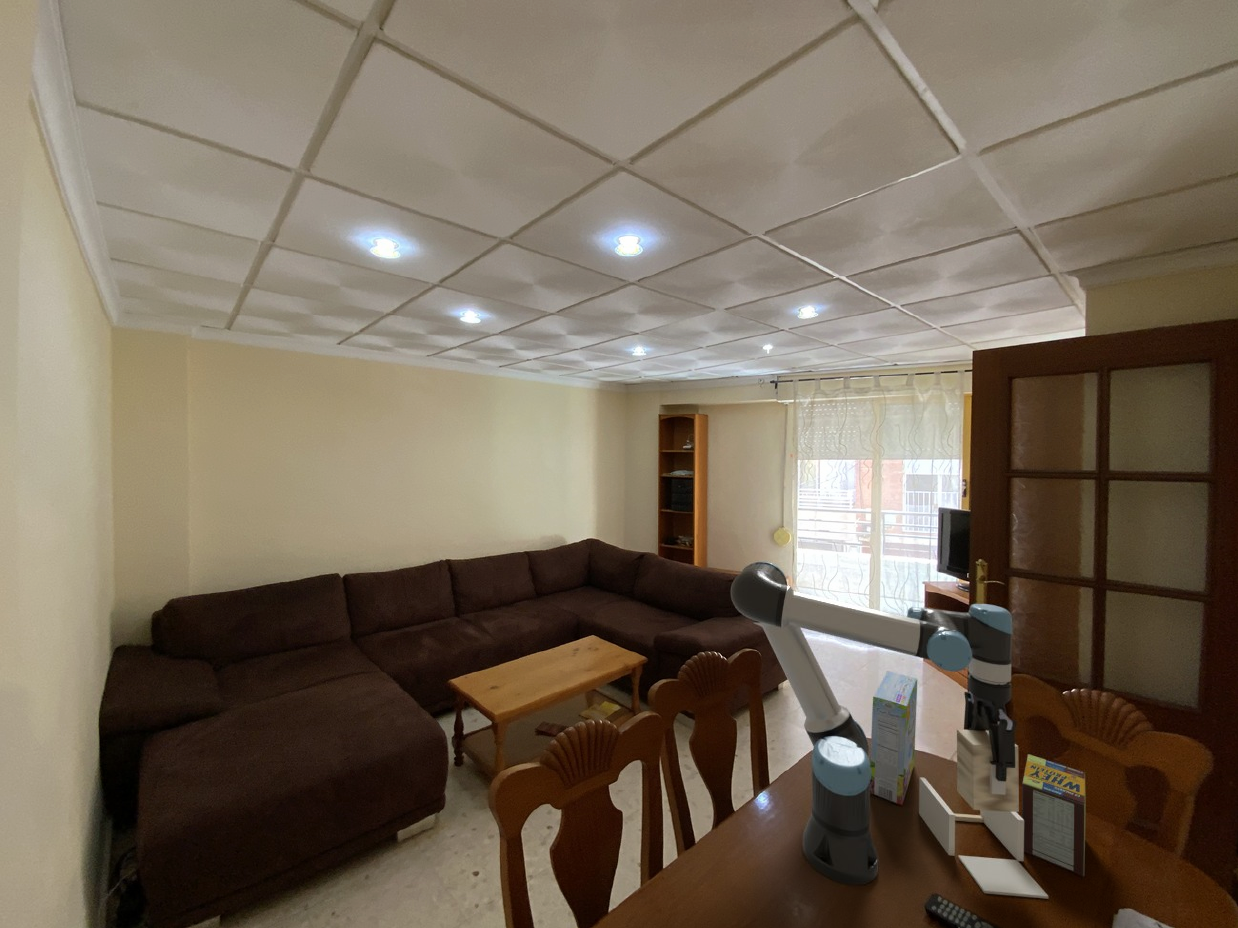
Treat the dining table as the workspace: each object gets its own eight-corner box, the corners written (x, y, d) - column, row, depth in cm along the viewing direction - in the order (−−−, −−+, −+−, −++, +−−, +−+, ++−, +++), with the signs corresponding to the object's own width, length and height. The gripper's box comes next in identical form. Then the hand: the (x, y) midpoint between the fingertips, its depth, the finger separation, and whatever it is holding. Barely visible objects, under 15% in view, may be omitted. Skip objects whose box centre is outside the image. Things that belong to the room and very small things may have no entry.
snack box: (906, 808, 125) (907, 706, 124) (867, 794, 130) (869, 696, 130) (917, 766, 142) (918, 676, 142) (883, 755, 147) (884, 668, 147)
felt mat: (984, 892, 100) (984, 890, 100) (958, 857, 109) (958, 855, 109) (1048, 898, 99) (1048, 895, 99) (1016, 862, 108) (1016, 859, 108)
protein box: (1084, 837, 115) (1085, 771, 115) (1084, 878, 104) (1085, 804, 104) (1026, 815, 123) (1027, 752, 123) (1020, 850, 111) (1021, 781, 111)
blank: (973, 809, 106) (973, 744, 106) (957, 790, 112) (956, 729, 112) (1018, 811, 106) (1018, 746, 105) (999, 792, 111) (999, 730, 111)
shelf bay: (948, 854, 110) (949, 814, 110) (918, 813, 123) (919, 777, 123) (1023, 861, 108) (1024, 819, 108) (985, 818, 121) (985, 781, 121)
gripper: (1040, 699, 99) (1038, 814, 99) (979, 660, 118) (977, 757, 118) (1000, 697, 100) (998, 812, 100) (946, 659, 118) (944, 755, 119)
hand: (987, 782), depth 109 cm, fingers closed on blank, 6 cm apart
